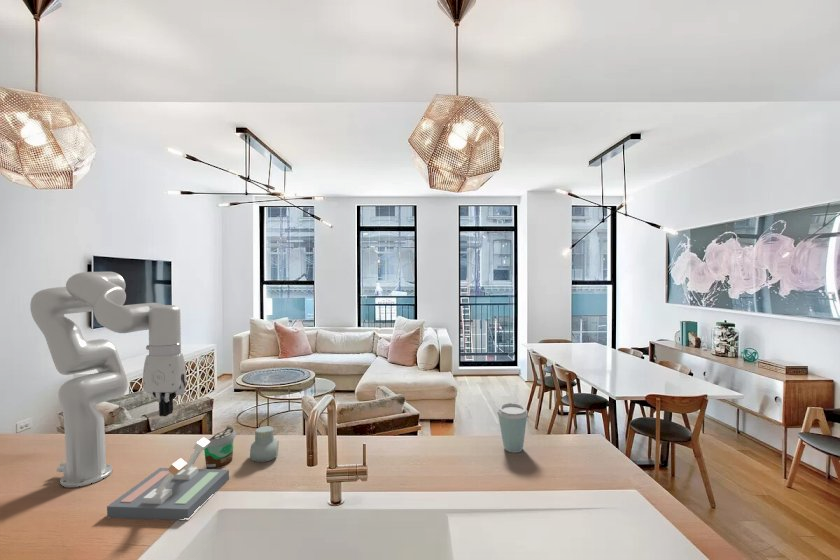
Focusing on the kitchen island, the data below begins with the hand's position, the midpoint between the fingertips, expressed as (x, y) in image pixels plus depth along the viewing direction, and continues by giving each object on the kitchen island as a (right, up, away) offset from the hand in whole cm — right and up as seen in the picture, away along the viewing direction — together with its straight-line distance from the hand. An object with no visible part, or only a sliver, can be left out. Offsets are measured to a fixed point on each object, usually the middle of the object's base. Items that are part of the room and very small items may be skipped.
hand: (166, 414), depth 115 cm
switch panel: (+1, -24, +1) cm, 24 cm away
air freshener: (+18, -23, +24) cm, 38 cm away
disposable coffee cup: (+104, -22, +30) cm, 111 cm away
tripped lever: (+1, -20, -5) cm, 20 cm away
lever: (+1, -19, +7) cm, 21 cm away
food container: (+6, -23, +21) cm, 32 cm away
